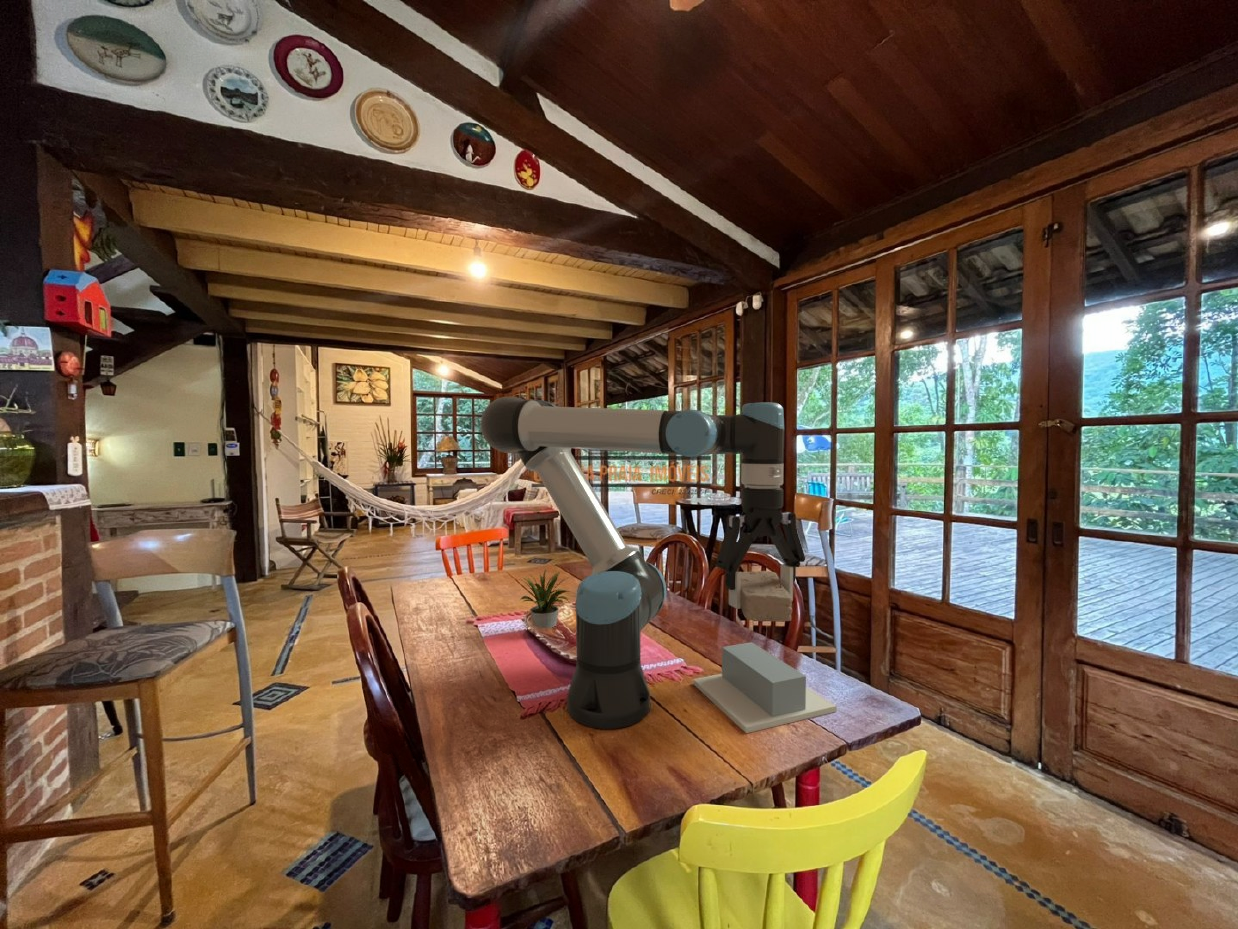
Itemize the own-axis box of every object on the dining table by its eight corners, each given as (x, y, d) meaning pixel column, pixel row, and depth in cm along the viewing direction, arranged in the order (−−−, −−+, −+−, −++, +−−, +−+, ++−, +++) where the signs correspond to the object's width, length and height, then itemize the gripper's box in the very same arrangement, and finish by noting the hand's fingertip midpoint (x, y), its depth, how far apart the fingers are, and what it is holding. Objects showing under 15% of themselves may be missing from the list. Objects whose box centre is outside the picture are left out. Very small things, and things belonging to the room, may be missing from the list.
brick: (794, 622, 85) (794, 595, 85) (743, 620, 86) (743, 593, 86) (775, 593, 101) (775, 570, 101) (733, 592, 102) (733, 569, 102)
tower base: (746, 733, 82) (746, 691, 82) (693, 684, 99) (693, 649, 99) (836, 711, 89) (837, 673, 89) (772, 668, 106) (772, 636, 105)
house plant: (517, 650, 116) (516, 580, 115) (507, 629, 128) (506, 567, 128) (575, 640, 121) (575, 574, 120) (560, 622, 134) (560, 561, 133)
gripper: (718, 490, 85) (718, 617, 86) (826, 485, 93) (824, 601, 94) (696, 486, 92) (696, 604, 93) (798, 482, 100) (797, 590, 101)
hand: (761, 602), depth 93 cm, fingers closed on brick, 11 cm apart
